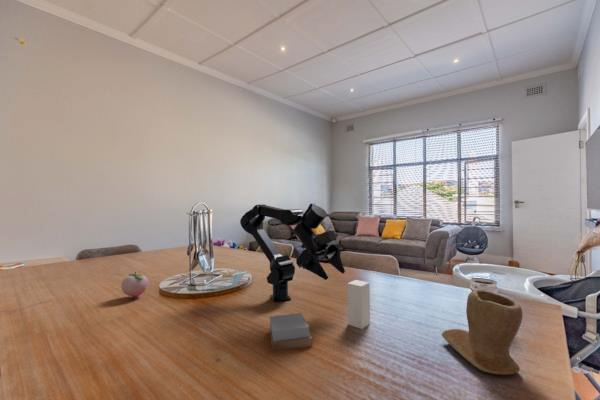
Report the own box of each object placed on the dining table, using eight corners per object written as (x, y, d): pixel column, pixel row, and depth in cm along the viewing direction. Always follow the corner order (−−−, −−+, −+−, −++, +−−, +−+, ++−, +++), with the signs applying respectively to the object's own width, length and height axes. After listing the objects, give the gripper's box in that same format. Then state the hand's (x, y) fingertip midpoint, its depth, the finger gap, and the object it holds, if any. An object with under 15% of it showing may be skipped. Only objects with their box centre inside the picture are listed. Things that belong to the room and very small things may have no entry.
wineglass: (490, 329, 76) (489, 285, 76) (465, 320, 82) (464, 279, 82) (503, 323, 79) (502, 282, 79) (479, 315, 85) (478, 276, 85)
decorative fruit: (115, 300, 103) (115, 273, 104) (136, 293, 111) (135, 268, 111) (133, 303, 100) (132, 275, 100) (152, 296, 108) (152, 270, 108)
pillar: (348, 324, 80) (347, 283, 80) (356, 319, 83) (355, 279, 84) (362, 329, 77) (361, 286, 77) (370, 323, 80) (369, 282, 80)
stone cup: (539, 379, 54) (537, 303, 54) (479, 380, 54) (478, 304, 54) (487, 341, 69) (485, 281, 70) (440, 341, 69) (439, 282, 70)
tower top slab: (269, 325, 76) (269, 316, 76) (301, 321, 78) (301, 313, 78) (273, 341, 67) (273, 331, 67) (309, 336, 69) (309, 326, 69)
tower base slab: (270, 333, 76) (269, 324, 76) (305, 330, 78) (305, 321, 78) (272, 352, 67) (272, 342, 67) (312, 348, 68) (312, 338, 68)
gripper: (302, 223, 82) (333, 265, 75) (337, 220, 96) (366, 255, 89) (284, 247, 88) (311, 288, 80) (320, 240, 101) (346, 275, 94)
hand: (335, 275), depth 86 cm, fingers open, 9 cm apart
